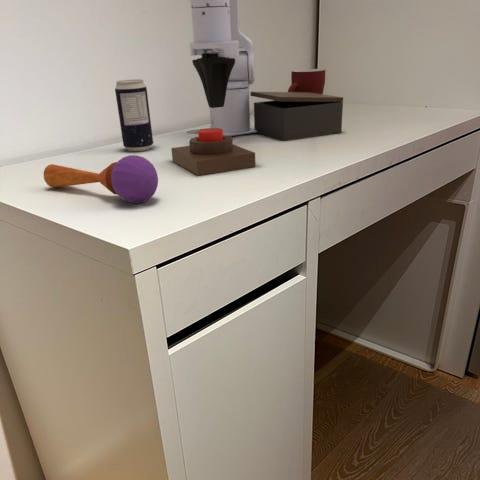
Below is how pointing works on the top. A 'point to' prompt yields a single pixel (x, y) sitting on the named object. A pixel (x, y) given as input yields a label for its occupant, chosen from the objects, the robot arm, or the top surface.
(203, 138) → the button
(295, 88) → the mug
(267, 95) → the brown box lid
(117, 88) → the beverage can
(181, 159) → the panel
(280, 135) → the dark gray box
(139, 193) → the purple maraca
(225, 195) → the top surface
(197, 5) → the robot arm
